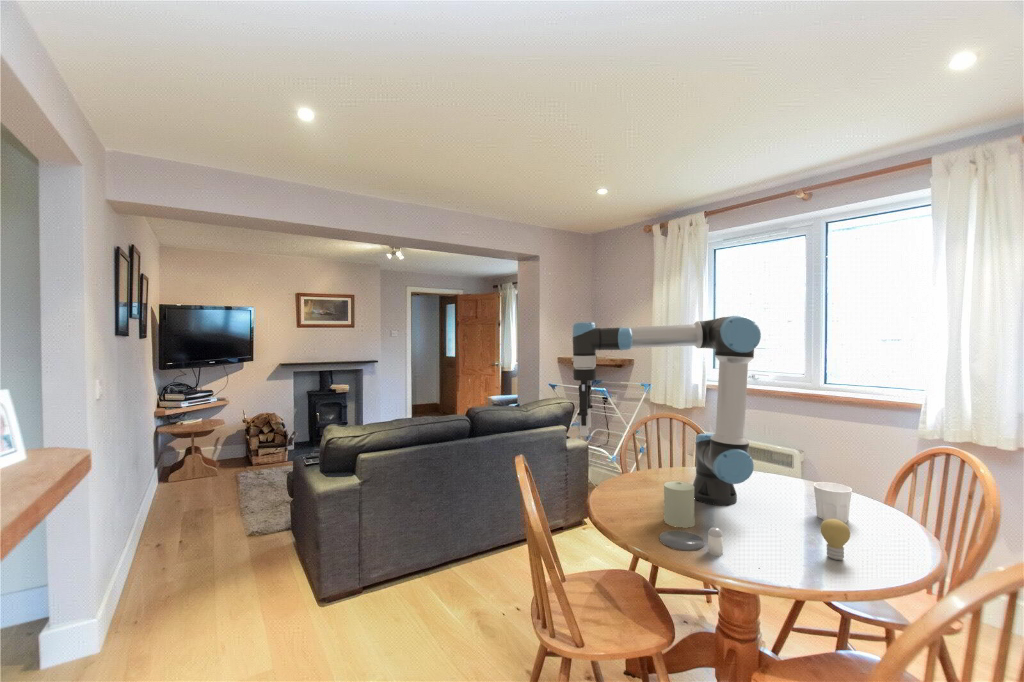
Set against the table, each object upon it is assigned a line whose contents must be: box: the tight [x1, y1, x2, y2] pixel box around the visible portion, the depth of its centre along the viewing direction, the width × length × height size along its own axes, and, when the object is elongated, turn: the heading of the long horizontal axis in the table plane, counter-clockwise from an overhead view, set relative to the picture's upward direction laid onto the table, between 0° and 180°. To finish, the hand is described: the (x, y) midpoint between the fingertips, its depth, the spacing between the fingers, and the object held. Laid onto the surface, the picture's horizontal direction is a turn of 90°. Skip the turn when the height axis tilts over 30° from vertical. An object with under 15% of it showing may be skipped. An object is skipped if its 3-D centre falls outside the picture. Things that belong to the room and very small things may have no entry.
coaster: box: [659, 530, 705, 552], centre depth 135 cm, size 12×12×1 cm
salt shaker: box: [707, 527, 724, 557], centre depth 127 cm, size 4×4×7 cm
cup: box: [813, 481, 853, 524], centre depth 150 cm, size 10×10×10 cm
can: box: [663, 480, 696, 529], centre depth 149 cm, size 9×9×12 cm
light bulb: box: [819, 519, 851, 561], centre depth 124 cm, size 6×6×10 cm
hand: (585, 431), depth 160 cm, fingers open, 13 cm apart
